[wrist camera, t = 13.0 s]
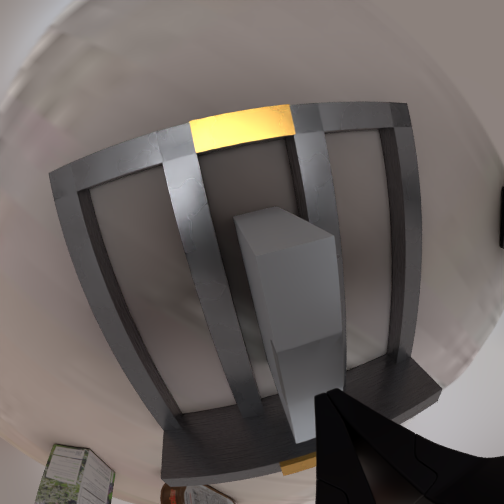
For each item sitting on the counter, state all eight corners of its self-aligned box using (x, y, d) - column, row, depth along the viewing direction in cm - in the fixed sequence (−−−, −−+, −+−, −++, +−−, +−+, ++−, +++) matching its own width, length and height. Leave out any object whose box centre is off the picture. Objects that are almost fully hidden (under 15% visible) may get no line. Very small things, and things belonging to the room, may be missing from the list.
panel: (277, 205, 14) (335, 235, 8) (302, 351, 17) (342, 427, 11) (231, 216, 14) (253, 256, 8) (267, 362, 17) (295, 444, 11)
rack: (392, 106, 14) (467, 91, 7) (398, 360, 20) (440, 404, 14) (61, 172, 12) (-14, 179, 6) (172, 427, 18) (170, 491, 12)
